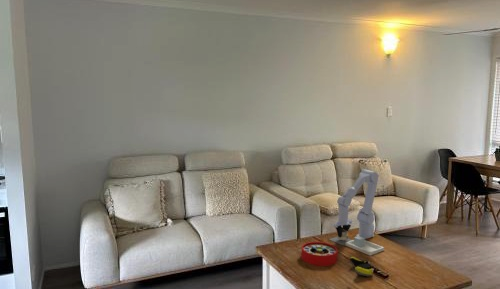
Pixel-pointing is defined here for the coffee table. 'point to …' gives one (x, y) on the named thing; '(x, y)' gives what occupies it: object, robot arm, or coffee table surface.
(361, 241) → the blue-grey block
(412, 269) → the coffee table surface
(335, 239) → the mat
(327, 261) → the toy clock
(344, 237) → the birch block
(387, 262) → the coffee table surface
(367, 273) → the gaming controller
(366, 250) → the tray
